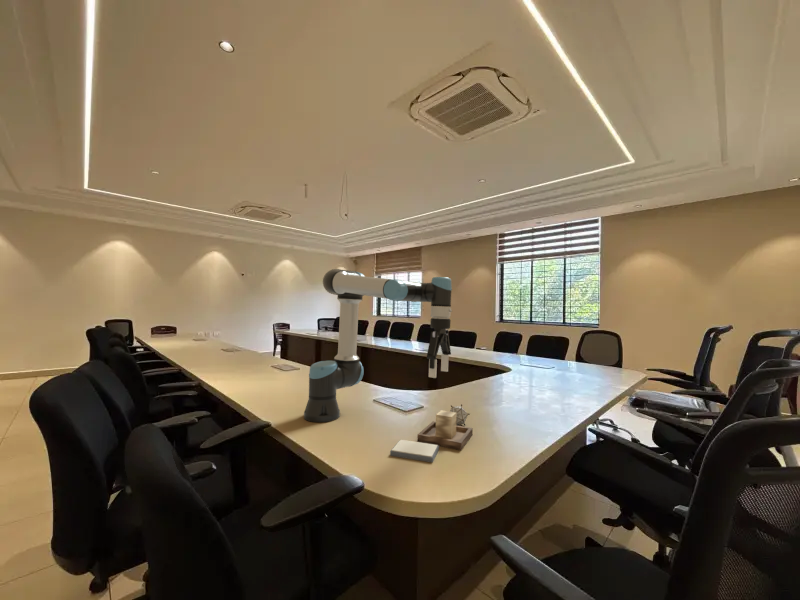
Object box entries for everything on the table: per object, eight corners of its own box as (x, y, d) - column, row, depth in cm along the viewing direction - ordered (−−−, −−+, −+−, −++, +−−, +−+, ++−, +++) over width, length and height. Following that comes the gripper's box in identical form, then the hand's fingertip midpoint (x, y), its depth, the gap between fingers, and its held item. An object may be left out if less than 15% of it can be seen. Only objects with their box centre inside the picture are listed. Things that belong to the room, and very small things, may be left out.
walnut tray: (417, 441, 120) (417, 434, 120) (432, 427, 134) (433, 421, 134) (461, 450, 113) (461, 442, 113) (472, 434, 127) (472, 428, 127)
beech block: (435, 436, 122) (435, 414, 123) (440, 431, 128) (441, 410, 128) (451, 439, 120) (451, 417, 120) (456, 434, 125) (456, 412, 125)
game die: (461, 435, 137) (469, 420, 131) (442, 426, 138) (449, 411, 133) (466, 419, 144) (473, 404, 138) (447, 410, 145) (454, 395, 140)
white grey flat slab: (390, 455, 108) (390, 450, 108) (399, 443, 118) (399, 438, 118) (432, 462, 104) (432, 456, 104) (438, 449, 113) (439, 444, 113)
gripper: (439, 319, 114) (437, 381, 114) (459, 317, 136) (457, 370, 136) (418, 318, 117) (416, 378, 117) (441, 317, 140) (440, 367, 139)
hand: (438, 374), depth 126 cm, fingers open, 13 cm apart
